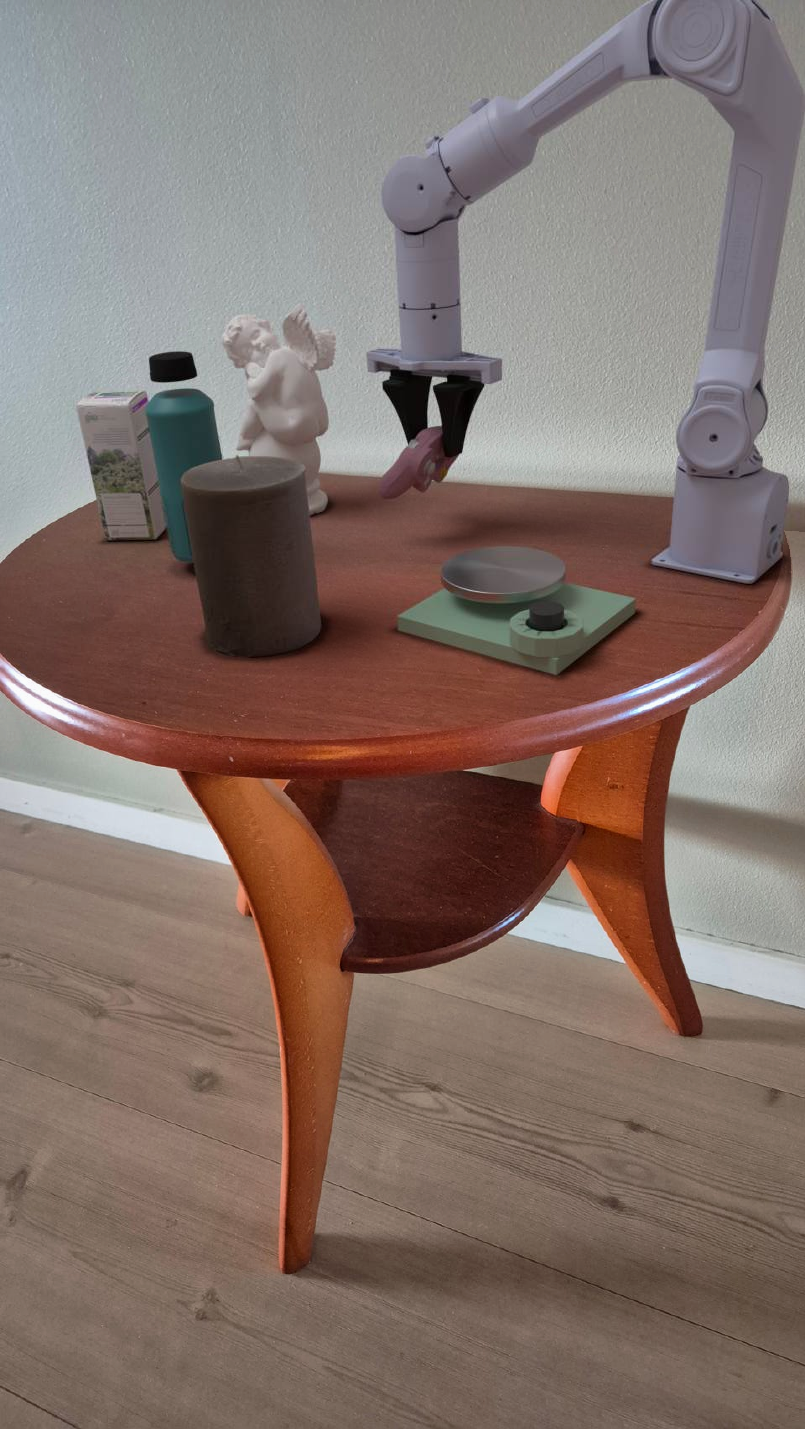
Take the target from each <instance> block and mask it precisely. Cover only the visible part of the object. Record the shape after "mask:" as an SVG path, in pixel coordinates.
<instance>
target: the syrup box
mask: <svg viewBox="0 0 805 1429" xmlns="http://www.w3.org/2000/svg"><path fill="white" fill-rule="evenodd" d="M149 401H150V400H149V396H148V392H147V391H146V390H143V389H141V390H123V391H122V390H118V391H94V392H92V393H89V394H87V395H86V396H84V397H83V398H82V399H80V400H79V401H78V402H77V403H76V404H75V406H76V407H75V409H76V412H77V413H76V414H77V418H78V422H79V426H80V431H81V435H82V440H83V442H84V443H83V444H84V449H85V453H86V458H87V462H88V468H89V472H90V476H91V481H92V485H93V490H94V494H95V499H96V503H97V508H98V513H99V517H100V521H101V524H102V525H101V526H102V530H103V536H104V539H105V541H147V540H149V541H150V540H151V541H152V540H157V539H158V537H159V536H161V534H162V533H163V532H164V531H166V529H165V527H167V525H166V521H165V520H164V519H165V516H164V515H165V514H164V511H163V510H162V509H163V508H162V507H163V504H162V503H161V502H162V501H161V500H162V499H161V494H160V493H159V492H160V489H159V483H158V476H157V470H156V464H155V459H154V454H153V449H152V443H151V438H150V433H149V427H148V422H147V417H146V414H145V407H146V406H147V404H148V402H149ZM160 499H161V500H160ZM163 514H164V515H163ZM163 517H164V518H163ZM164 522H165V523H164Z"/></svg>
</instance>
